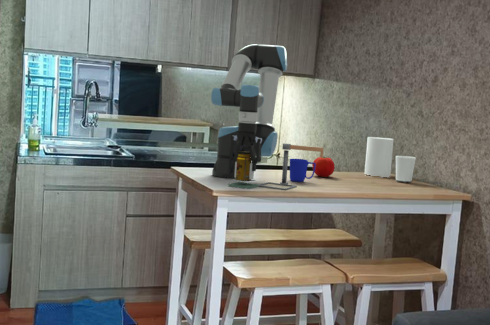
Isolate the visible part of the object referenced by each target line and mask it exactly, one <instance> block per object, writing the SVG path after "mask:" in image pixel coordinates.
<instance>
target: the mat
mask: <svg viewBox="0 0 490 325" xmlns="http://www.w3.org/2000/svg"><path fill="white" fill-rule="evenodd" d="M258 184H259V183H250V182H245V181H235V182H232V183H228V185H227V187H229V186H233V187H232V188H237V187H239V188H238V189H244V188H247V190H250V189H253V188H259V187H258Z"/></svg>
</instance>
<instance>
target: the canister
mask: <svg viewBox="0 0 490 325" xmlns="http://www.w3.org/2000/svg"><path fill="white" fill-rule="evenodd" d="M393 150H394V138H390V137H377V136H367V141H366V152H365V164H364V174H367V175H371V176H370V177H372V176H381V177H380V178H383V177H387V178H390V177H391V172H392V162H393ZM389 176H390V177H389Z"/></svg>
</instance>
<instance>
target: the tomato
mask: <svg viewBox="0 0 490 325" xmlns="http://www.w3.org/2000/svg"><path fill="white" fill-rule="evenodd" d="M313 163H316V166H315V172H314V174H315V175H316V176H318V177H321V178H322V177H323V178H328V177H330V176H332V175H333V173H334V172H335V163H334V160H333V159H332V158H331V157H327V156H323V157H320V156H318V157H316V158H315V159H314V160H313ZM311 165H312V166H311V167H312V170H313V169H314V164H311Z"/></svg>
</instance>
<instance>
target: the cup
mask: <svg viewBox="0 0 490 325" xmlns="http://www.w3.org/2000/svg"><path fill="white" fill-rule="evenodd" d="M416 160H417V158H416V157H415V156H410V155H409V156H408V155H395V180H396V182H397V183H403V184H406V183H407V182H408V183H407V184H411V183H412V180H413V175H414V169H415V165H416V164H415V163H416Z"/></svg>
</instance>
